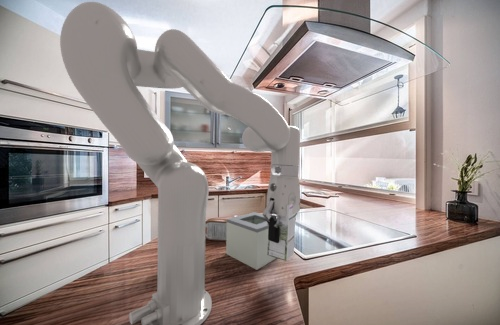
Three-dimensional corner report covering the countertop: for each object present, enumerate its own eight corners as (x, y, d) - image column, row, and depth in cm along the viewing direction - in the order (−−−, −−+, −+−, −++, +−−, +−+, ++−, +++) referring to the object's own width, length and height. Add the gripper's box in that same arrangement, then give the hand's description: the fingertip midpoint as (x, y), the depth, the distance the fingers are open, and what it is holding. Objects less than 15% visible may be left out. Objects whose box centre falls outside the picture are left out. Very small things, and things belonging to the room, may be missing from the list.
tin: (239, 239, 80) (239, 219, 80) (238, 242, 77) (238, 221, 77) (203, 237, 81) (203, 217, 81) (200, 240, 78) (201, 219, 78)
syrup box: (294, 253, 54) (296, 201, 54) (286, 262, 49) (289, 204, 49) (275, 248, 57) (277, 198, 57) (266, 255, 52) (268, 201, 52)
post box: (256, 269, 57) (257, 229, 57) (226, 253, 67) (226, 219, 67) (283, 254, 68) (283, 219, 68) (253, 242, 77) (254, 211, 77)
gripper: (277, 172, 44) (273, 252, 44) (311, 173, 57) (309, 234, 57) (252, 171, 49) (249, 241, 49) (289, 171, 62) (287, 228, 62)
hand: (281, 237), depth 53 cm, fingers closed on syrup box, 6 cm apart
